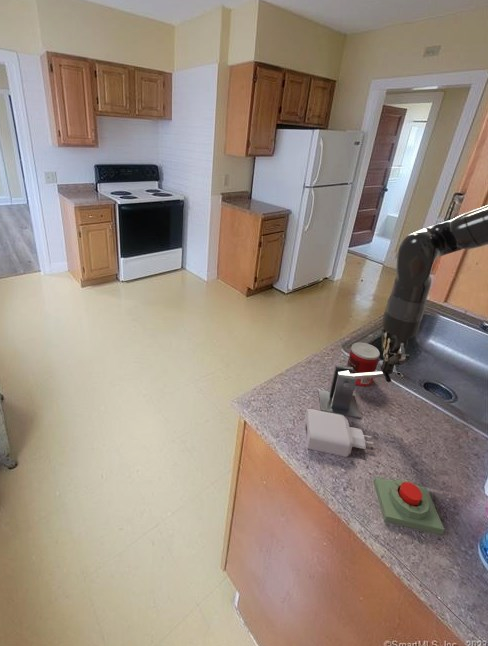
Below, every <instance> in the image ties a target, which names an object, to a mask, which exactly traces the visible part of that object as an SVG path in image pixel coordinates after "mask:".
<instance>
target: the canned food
mask: <svg viewBox="0 0 488 646" xmlns="http://www.w3.org/2000/svg"><path fill="white" fill-rule="evenodd" d="M380 355H381V352H380V351H379V349H378V348H377V347H376V346H374V345H372V344H371V343H366V342H355V343H353V344H351V347H350V351H349V355H348V360H347V364H346V366H348V367H353V373H352V374H355V373H367V372H376V370H377V366H378V363H379V359H380ZM373 380H374V378H363V379H357V380H356V384H355V386H357V387H369V386H371V385H372V384H373Z"/></svg>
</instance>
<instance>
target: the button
mask: <svg viewBox="0 0 488 646" xmlns="http://www.w3.org/2000/svg"><path fill="white" fill-rule="evenodd" d="M410 482H411V481H410ZM410 482H403V483H402V484H401V487H400V489H399V495H400V497H401V498H402V500H403V501H404V502H406V503H407V504H409V505H411V506H418V505H419V504H420V501H421V499H422V493H421V491H420V490H419V488H418V487H417V486H418V485H416V484H415V485H416V486H415V485H414V483H413V482H411V483H410ZM412 483H413V484H412Z"/></svg>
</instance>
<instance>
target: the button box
mask: <svg viewBox="0 0 488 646" xmlns="http://www.w3.org/2000/svg"><path fill="white" fill-rule="evenodd" d="M403 482H410V483H412V484H414V483H413V482H411V481H410V480H406V479H401V478H397V479H395V480H392V479H387V478H382V477H378V476H375V477H374V479H373V486H374V489H375V494H376V498H377V500H378V505H379V509H380V512H381V515H382V518H383V522H384V523H388V524H393V525H397V526H401V527H405V528H409V529H413V530H418V531H423V532H426V533H431V534H435V535H439V536H442V535H443V534H444V532H445V528H444V525H443V523H442V521H441V518H440V516H439V514H438V512H437V509H436V506H435V504H434V501H433V499H432V497H431V495H430V493H429V490H428V487H426V486H421V485H416V484H414V485H415V486H417V487H418V488H419V490H420V491H421V493H422V499H421V501H420V504H419V505H418V506H411V505H409V504H407V503H406V502H404V501H403V500H402V498H401V497H400V495H399V489H400V487H401V484H402V483H403Z"/></svg>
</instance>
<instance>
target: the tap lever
mask: <svg viewBox="0 0 488 646" xmlns="http://www.w3.org/2000/svg"><path fill="white" fill-rule="evenodd" d="M338 374H340V375H346V376H352V377H356V379H363V378H373V379H374V378H384V379H385V381H386V382H387V383H391V382H392V378H391V376H390V374H386V373H383V372H382V369H381V368H380V370H379V371H375V372H367V373H355V374H350V373H349V370H348V371H338Z"/></svg>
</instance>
